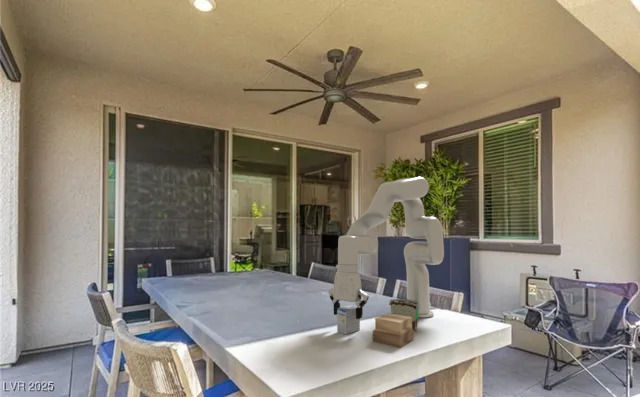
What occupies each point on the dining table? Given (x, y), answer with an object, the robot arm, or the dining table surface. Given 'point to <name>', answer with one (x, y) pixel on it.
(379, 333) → the tower base block
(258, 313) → the dining table surface
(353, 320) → the medicine box
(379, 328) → the tower top block
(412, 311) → the food container
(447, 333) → the dining table surface
